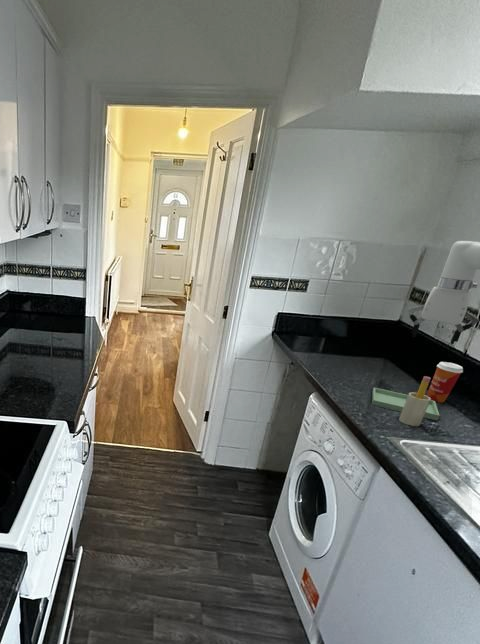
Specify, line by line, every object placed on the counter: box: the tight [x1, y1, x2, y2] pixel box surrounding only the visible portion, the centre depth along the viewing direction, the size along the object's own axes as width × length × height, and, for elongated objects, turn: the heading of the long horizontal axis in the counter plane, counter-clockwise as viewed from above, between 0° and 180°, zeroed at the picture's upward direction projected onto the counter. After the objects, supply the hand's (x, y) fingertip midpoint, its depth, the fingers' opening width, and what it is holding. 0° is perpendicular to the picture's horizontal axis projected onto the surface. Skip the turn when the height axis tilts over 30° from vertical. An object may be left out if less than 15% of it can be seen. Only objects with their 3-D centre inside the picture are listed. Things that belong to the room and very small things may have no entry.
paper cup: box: [426, 361, 464, 403], centre depth 153 cm, size 8×8×14 cm
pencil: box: [416, 375, 432, 399], centre depth 133 cm, size 2×2×16 cm
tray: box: [371, 387, 441, 422], centre depth 149 cm, size 19×14×2 cm
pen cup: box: [398, 391, 431, 427], centre depth 135 cm, size 6×6×10 cm
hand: (432, 339), depth 130 cm, fingers open, 9 cm apart
